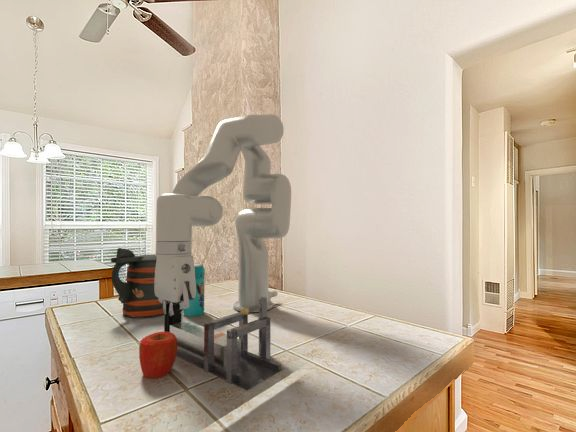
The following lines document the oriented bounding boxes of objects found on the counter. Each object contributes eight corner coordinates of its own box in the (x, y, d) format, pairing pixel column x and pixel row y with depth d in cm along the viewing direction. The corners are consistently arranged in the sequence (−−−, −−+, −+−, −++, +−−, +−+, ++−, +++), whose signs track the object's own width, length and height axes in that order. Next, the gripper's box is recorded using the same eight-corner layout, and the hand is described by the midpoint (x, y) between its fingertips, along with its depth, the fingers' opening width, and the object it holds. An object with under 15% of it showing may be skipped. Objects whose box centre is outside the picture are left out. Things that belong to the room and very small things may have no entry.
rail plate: (181, 333, 74) (181, 325, 74) (283, 374, 54) (283, 362, 54) (145, 345, 67) (145, 336, 67) (247, 396, 47) (247, 383, 47)
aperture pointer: (262, 356, 61) (262, 296, 61) (268, 359, 60) (268, 297, 60) (239, 368, 56) (239, 302, 56) (245, 370, 55) (245, 304, 55)
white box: (169, 343, 65) (169, 324, 65) (186, 338, 68) (186, 320, 68) (223, 369, 54) (223, 346, 54) (240, 361, 57) (241, 339, 57)
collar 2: (265, 366, 57) (265, 316, 57) (270, 368, 56) (270, 317, 56) (226, 387, 50) (226, 330, 50) (231, 389, 49) (231, 332, 49)
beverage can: (198, 321, 83) (198, 266, 84) (179, 319, 85) (179, 265, 85) (207, 314, 89) (208, 263, 89) (189, 313, 90) (190, 262, 91)
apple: (174, 385, 50) (174, 339, 50) (134, 389, 49) (134, 342, 49) (179, 367, 56) (180, 326, 57) (143, 370, 55) (144, 329, 55)
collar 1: (243, 357, 61) (243, 311, 61) (247, 359, 60) (247, 312, 60) (203, 375, 53) (204, 323, 54) (208, 378, 53) (208, 324, 53)
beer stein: (134, 326, 79) (135, 249, 80) (96, 319, 85) (97, 247, 85) (185, 307, 97) (185, 244, 97) (150, 303, 102) (151, 243, 103)
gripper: (208, 249, 67) (207, 334, 66) (171, 246, 76) (170, 321, 75) (177, 252, 61) (176, 345, 60) (141, 248, 70) (139, 329, 69)
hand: (172, 331), depth 68 cm, fingers closed
